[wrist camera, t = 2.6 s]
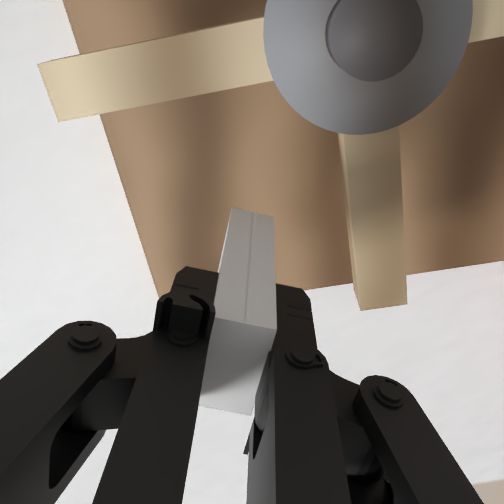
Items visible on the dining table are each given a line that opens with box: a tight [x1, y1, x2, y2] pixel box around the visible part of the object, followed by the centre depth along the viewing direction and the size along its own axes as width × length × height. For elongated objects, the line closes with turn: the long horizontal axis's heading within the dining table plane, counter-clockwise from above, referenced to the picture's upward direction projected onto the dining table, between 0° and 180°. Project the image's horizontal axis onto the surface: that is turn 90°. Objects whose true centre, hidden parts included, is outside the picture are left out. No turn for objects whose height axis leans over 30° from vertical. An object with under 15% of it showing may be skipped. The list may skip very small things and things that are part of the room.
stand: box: [63, 0, 504, 299], centre depth 18 cm, size 21×24×4 cm
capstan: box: [37, 0, 504, 311], centre depth 14 cm, size 22×20×4 cm
